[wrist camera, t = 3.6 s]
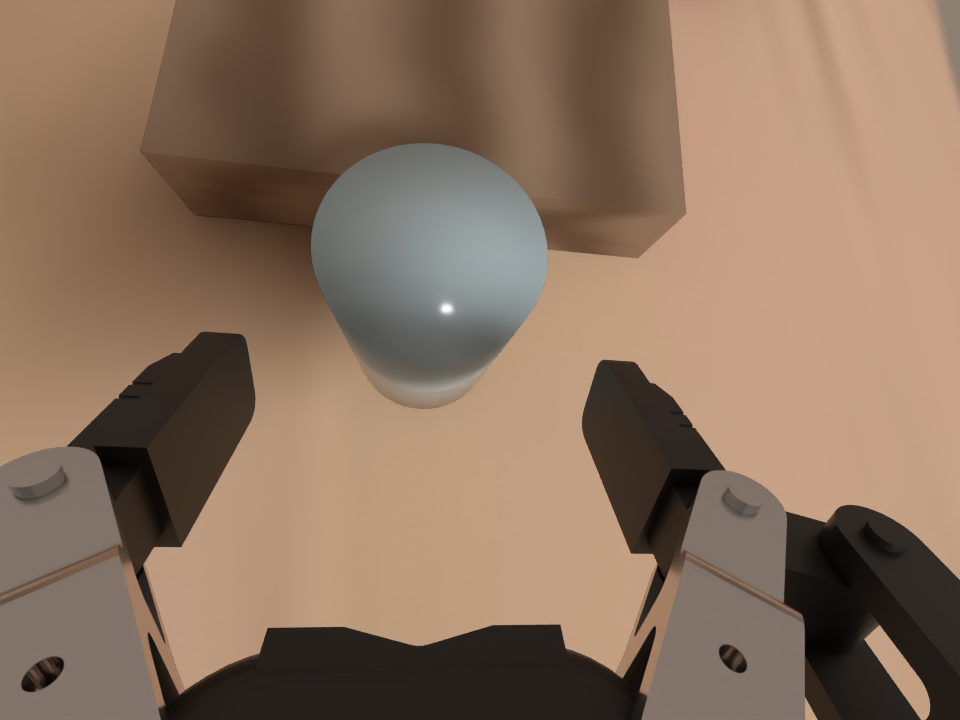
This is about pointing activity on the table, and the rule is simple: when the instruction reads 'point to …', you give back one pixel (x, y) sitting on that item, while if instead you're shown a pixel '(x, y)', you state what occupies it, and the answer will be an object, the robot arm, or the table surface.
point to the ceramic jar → (428, 267)
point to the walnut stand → (425, 105)
